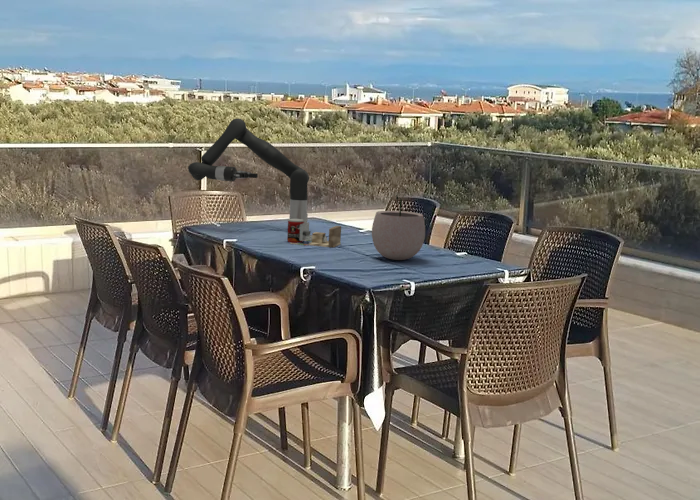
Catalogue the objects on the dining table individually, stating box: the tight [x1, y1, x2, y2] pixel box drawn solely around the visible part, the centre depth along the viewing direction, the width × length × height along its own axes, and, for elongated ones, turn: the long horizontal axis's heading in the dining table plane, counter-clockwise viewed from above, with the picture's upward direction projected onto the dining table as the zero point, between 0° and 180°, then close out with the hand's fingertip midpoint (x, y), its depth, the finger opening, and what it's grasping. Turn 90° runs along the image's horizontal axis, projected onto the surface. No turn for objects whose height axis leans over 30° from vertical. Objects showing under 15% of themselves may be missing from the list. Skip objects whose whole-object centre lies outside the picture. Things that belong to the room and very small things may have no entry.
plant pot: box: [371, 193, 426, 261], centre depth 366 cm, size 24×24×30 cm
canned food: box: [286, 218, 304, 244], centre depth 402 cm, size 8×8×11 cm
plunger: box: [299, 221, 328, 242], centre depth 399 cm, size 12×9×8 cm
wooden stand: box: [289, 225, 342, 248], centre depth 399 cm, size 22×15×9 cm
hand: (257, 175), depth 416 cm, fingers closed
